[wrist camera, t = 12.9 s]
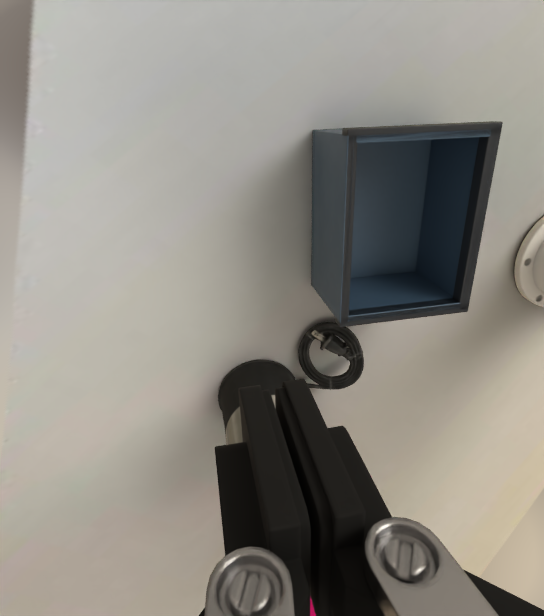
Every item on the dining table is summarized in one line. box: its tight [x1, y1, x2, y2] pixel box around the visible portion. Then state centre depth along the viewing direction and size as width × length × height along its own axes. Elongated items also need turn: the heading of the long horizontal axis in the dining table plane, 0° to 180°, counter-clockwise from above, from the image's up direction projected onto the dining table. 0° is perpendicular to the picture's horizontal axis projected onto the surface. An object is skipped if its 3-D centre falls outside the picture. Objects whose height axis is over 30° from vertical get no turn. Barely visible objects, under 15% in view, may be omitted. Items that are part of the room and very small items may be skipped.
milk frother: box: [218, 322, 364, 445], centre depth 42 cm, size 14×16×15 cm
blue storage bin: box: [311, 121, 502, 327], centre depth 38 cm, size 9×16×12 cm
